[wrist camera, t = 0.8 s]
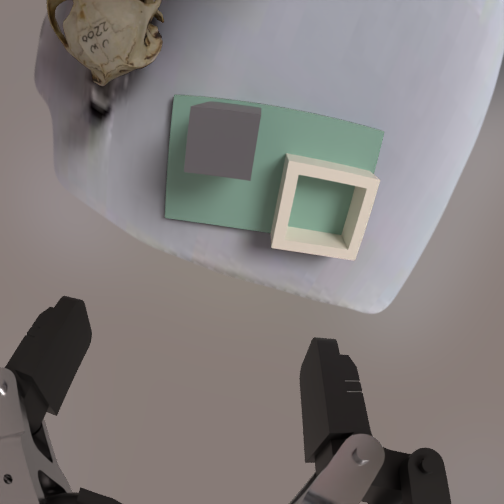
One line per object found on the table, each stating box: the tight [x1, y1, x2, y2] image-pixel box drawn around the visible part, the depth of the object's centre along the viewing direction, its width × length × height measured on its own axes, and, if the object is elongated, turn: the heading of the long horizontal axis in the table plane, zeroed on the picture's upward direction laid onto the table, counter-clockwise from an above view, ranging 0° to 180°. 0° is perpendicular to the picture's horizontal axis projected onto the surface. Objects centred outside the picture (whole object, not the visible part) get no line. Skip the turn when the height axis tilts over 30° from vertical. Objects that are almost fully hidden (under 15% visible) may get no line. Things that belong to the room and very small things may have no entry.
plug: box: [184, 101, 261, 181], centre depth 23 cm, size 5×4×8 cm
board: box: [165, 95, 384, 235], centre depth 28 cm, size 12×19×1 cm, turn 81°
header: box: [271, 153, 380, 261], centre depth 28 cm, size 8×8×3 cm
